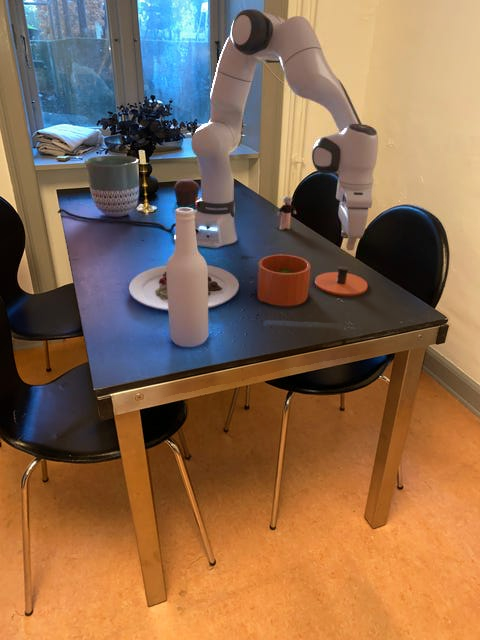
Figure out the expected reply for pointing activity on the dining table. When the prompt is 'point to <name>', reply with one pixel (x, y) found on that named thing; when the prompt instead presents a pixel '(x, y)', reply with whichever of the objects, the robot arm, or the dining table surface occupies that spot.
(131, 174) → the planter
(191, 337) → the alcohol
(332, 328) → the dining table surface
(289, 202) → the grandmother figurine
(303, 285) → the pot
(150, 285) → the plated food
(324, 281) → the lid
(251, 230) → the dining table surface
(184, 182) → the muffin
